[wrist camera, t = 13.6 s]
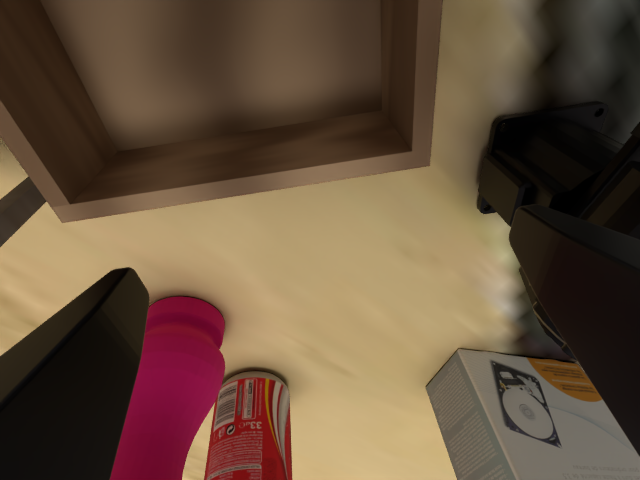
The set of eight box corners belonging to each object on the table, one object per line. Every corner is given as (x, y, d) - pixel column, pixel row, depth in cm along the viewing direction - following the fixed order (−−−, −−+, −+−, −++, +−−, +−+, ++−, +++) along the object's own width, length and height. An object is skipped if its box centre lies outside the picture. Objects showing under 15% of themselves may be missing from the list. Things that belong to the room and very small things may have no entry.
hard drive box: (579, 360, 38) (792, 636, 22) (535, 396, 42) (686, 649, 27) (456, 346, 34) (608, 666, 18) (421, 388, 38) (520, 677, 23)
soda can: (203, 392, 35) (172, 567, 25) (246, 357, 32) (230, 539, 22) (261, 411, 38) (254, 572, 28) (304, 381, 35) (314, 548, 25)
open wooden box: (396, -218, 12) (592, -532, 5) (393, 135, 20) (463, 237, 13) (-162, -130, 12) (-890, -296, 5) (54, 188, 20) (-83, 321, 13)
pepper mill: (119, 301, 26) (-120, 794, 11) (211, 282, 26) (106, 761, 10) (163, 355, 31) (42, 759, 15) (243, 339, 30) (204, 736, 15)
